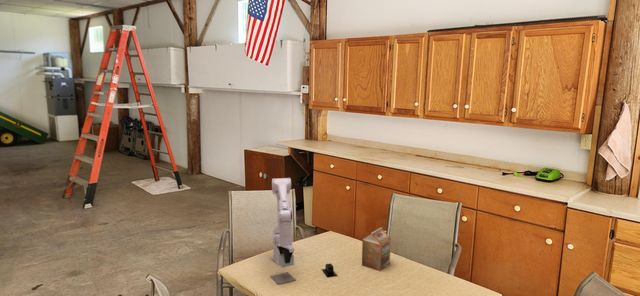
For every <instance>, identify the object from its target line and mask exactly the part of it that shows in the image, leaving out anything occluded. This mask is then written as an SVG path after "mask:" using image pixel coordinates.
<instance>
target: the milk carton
mask: <svg viewBox="0 0 640 296" xmlns="http://www.w3.org/2000/svg"><path fill="white" fill-rule="evenodd" d="M391 240H392V239H391V237H390V235H388V233H386V232H385V231H384V230H383V226H382V227H379V228H378V229H376V230H374V231H372V232H371V234H369V235H368V236H366V237H364V238H363V239H362V240H361V242H362V243H361V244H362V245H361V246H362V247H361V249H362V250H361V266H362V267H365V268H367V269H368V268H369V269H371V270H375V271H378V272H381V271H382V270H383V269H385V268H386V267H388V266H390V264H391Z"/></svg>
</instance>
